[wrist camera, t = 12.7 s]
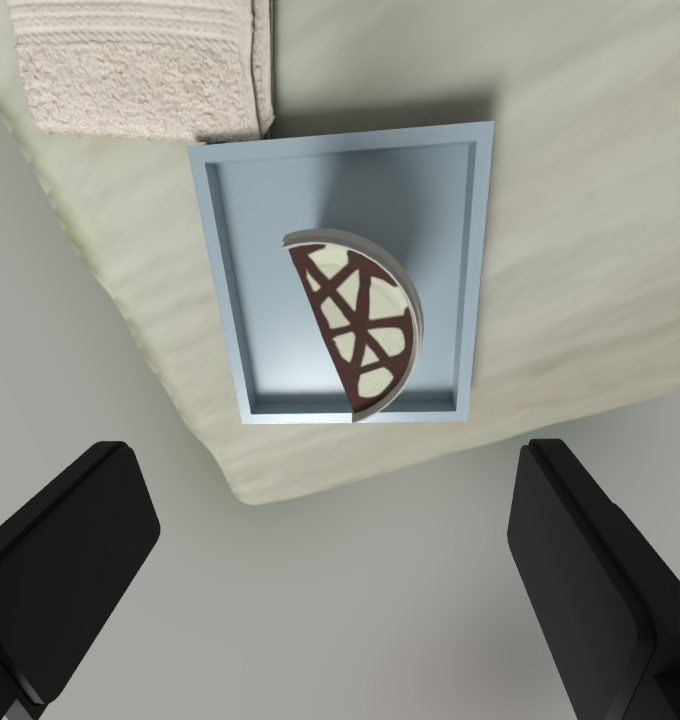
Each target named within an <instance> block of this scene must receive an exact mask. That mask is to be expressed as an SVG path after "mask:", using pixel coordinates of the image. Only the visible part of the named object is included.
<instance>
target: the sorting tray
mask: <svg viewBox="0 0 680 720" xmlns="http://www.w3.org/2000/svg"><path fill="white" fill-rule="evenodd" d="M494 124H495V121H483V122H472V123H460V124H448V125H436V126H424V127H413V128H401V129H389V130H377V131H365V132H354V133H342V134H330V135H318V136H306V137H294V138H283V139H271V140H259V141H247V142H235V143H224V144H212V145H200V146H188V147H187V149H188V154H189V159H190V164H191V169H192V174H193V179H194V184H195V189H196V194H197V199H198V204H199V209H200V214H201V219H202V224H203V229H204V234H205V239H206V245H207V250H208V255H209V260H210V265H211V270H212V275H213V280H214V285H215V290H216V295H217V300H218V305H219V310H220V315H221V320H222V325H223V330H224V335H225V340H226V346H227V351H228V356H229V361H230V366H231V371H232V376H233V381H234V386H235V391H236V396H237V401H238V406H239V411H240V416H241V421H242V424H287V423H352V408H351V405H350V403H349V400H348V398H347V395H346V393H345V390H344V388H343V385H342V383H341V380H340V378H339V375H338V373H337V371H336V368H335V366H334V363H333V361H332V359H331V356H330V354H329V352H328V350H327V347H326V345H325V343H324V341H323V338H322V335H321V332H320V330H319V327H318V324H317V321H316V319H315V316H314V313H313V310H312V308H311V305H310V303H309V300H308V297H307V295H306V292H305V290H304V287H303V284H302V282H301V279H300V277H299V274H298V272H297V270H296V268H295V266H294V264H293V262H292V258H291V256H290V253H289V250H288V249H284V250H281V247H283V244H282V240H283V238H284V236H285V235H286V234H289V233H292V232H296V231H299V230H307V229H315V228H323V229H337V230H341V231H346V232H351V233H354V234H356V235H359V236H361V237H364V238H366V239H368V240H370V241H372V242H373V243H375V244H377V245H378V246H380V247H382V248H383V249H384V250H386V251H387V252H388V253H389V254H390V255H391V256H393V257H394V258H395V259H396V260H397V261H398V262H399V264H400V265H401V266H402V267H403V268H404V270H405V271H406V272H407V274H408V275H409V277H410V279H411V280H412V282H413V284H414V285H415V288H416V290H417V293H418V296H419V298H420V301H421V306H422V311H423V316H424V335H423V342H422V348H421V353H420V357H419V360H418V363H417V366H416V369H415V371H414V373H413V375H412V377H411V379H410V380H409V382H408V384H407V385H406V386H405V388H404V389H403V390H402V392H401V393H400V394H399V395H398V396H397V397H396V398H395V399H394V400H393V401H392V402H391V403H390V404H389V405H388V406H386V407H385V408H384V409H382V410H381V411H380V412H378V413H377V414H375V415H373V416H371V417H369V418H367V419H365V420H363V421H360V422H357V423H367V422H448V421H468V410H469V399H470V388H471V377H472V366H473V355H474V344H475V333H476V322H477V311H478V300H479V289H480V278H481V267H482V256H483V245H484V234H485V223H486V212H487V201H488V190H489V179H490V168H491V157H492V146H493V135H494Z"/></svg>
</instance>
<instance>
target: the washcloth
mask: <svg viewBox="0 0 680 720" xmlns="http://www.w3.org/2000/svg"><path fill="white" fill-rule="evenodd" d="M6 4H7V6H8V13H9V16H10V19H11V21H12V26H13V29H14V32H15V34H16V35H17V46H15V47H14V49H15V52H16V54H17V59H18V61H19V70H20V78H21V80H22V82H23V85H24V93H25V94H26V100H27V103H28V105H29V111H30V114H31V120H32V122H33V123H34V125H35V126H36V127H37V128H38V129H39V130H40V131H42V132H45V133H47V134H48V135H49V136H51V135H53V134H61V135H66V134H68V135H71V136H73V135H76V136H78V137H79V138H80V137H81V136H82V135H88V136H91V137H94V136H109V137H113V138H115V137H120V138H121V139H122V138H130V139H138V138H139V139H143V140H150V141H152V140H156V141H159V140H166V141H168V140H170V141H173V140H177V141H178V140H180V141H181V140H187V141H194V142H197V143H199V142H207V143H210V144H212V143H223V144H224V143H235V142H247V141H259V140H270V139H269V136H270V133H269V127H270V126H271V125H272V123H273V121H274V119H275V117H276V116H274V115H273V113H274V111H273V110H274V64H273V0H6Z"/></svg>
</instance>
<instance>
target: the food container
mask: <svg viewBox="0 0 680 720" xmlns="http://www.w3.org/2000/svg"><path fill="white" fill-rule="evenodd" d="M282 244H283V247H281V250H284V249H288V250H289V253H290V256H291V258H292V262H293V264H294V266H295V268H296V270H297V272H298V274H299V277H300V279H301V282H302V284H303V287H304V290H305V292H306V295H307V297H308V300H309V303H310V305H311V308H312V310H313V313H314V316H315V319H316V321H317V324H318V327H319V330H320V332H321V335H322V338H323V341H324V343H325V345H326V347H327V350H328V352H329V354H330V356H331V359H332V361H333V363H334V366H335V368H336V371H337V373H338V375H339V378H340V380H341V383H342V385H343V388H344V390H345V393H346V395H347V398H348V400H349V403H350V405H351V408H352V424H354V423H357V422H360V421H363V420H365V419H367V418H369V417H371V416H373V415H375V414H377V413H378V412H380V411H381V410H382V409H384V408H385V407H386V406H388V405H389V404H390V403H391V402H392V401H393V400H394V399H395V398H396V397H397V396H398V395H399V394H400V393H401V392H402V390H403V389H404V388H405V386H406V385H407V384H408V382H409V380H410V379H411V377H412V375H413V373H414V371H415V369H416V366H417V363H418V360H419V357H420V353H421V348H422V342H423V335H424V316H423V311H422V306H421V301H420V298H419V296H418V293H417V290H416V288H415V285H414V284H413V282H412V280H411V279H410V277H409V275H408V274H407V272H406V271H405V270H404V268H403V267H402V266H401V265H400V264H399V262H398V261H397V260H396V259H395V258H394V257H393V256H391V255H390V254H389V253H388V252H387V251H386V250H384V249H383V248H382V247H380V246H378V245H377V244H375V243H373V242H372V241H370V240H368V239H366V238H364V237H361V236H359V235H356V234H354V233H351V232H346V231H341V230H337V229H323V228H315V229H307V230H299V231H296V232H292V233H289V234H286V235H285V236H284V238H283V240H282Z"/></svg>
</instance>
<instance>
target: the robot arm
mask: <svg viewBox="0 0 680 720" xmlns="http://www.w3.org/2000/svg"><path fill="white" fill-rule="evenodd" d="M159 535H160V524H159V520H158V518H157V515H156V512H155V509H154V507H153V504H152V501H151V498H150V495H149V492H148V489H147V487H146V484H145V481H144V478H143V475H142V473H141V470H140V467H139V464H138V461H137V459H136V456H135V453H134V451H133V449H132V448H130V447H128V445H127V444H126V443H125V442H122V441H100V442H97V443H95V444H94V445H92V446H91V447H90V448H89V449H88V450H87V451H86V452H85V453H83V454H82V455H81V456H80V457H79V458H78V459H76V460H75V461H74V462H73V463H72V464H71V465H69V466H68V467H67V468H66V469H65V470H64V471H63V472H62V473H60V474H59V475H58V476H57V477H56V478H55V479H53V480H52V481H51V482H50V483H49V484H48V485H47V486H45V487H44V488H43V489H42V490H41V491H40V492H39V493H37V494H36V495H35V496H34V497H33V498H32V499H30V500H29V501H28V502H27V503H26V504H25V505H24V506H22V508H20V509H19V510H18V511H17V512H16V513H14V514H13V515H12V516H11V517H10V518H9V519H8V520H6V521H5V522H4V523H3V524H2V525H1V526H0V720H2V718H3V716H4V715H5V716H6V718H8V720H38V719H39V718H40V716H41V715H42V713H43V712H44V710H45V709H46V707H47V706H48V704H49V703H51V702H52V701H54V700H55V699H56V698H57V697H58V696H59V695H60V693H61V692H62V691H63V689H64V688H65V686H66V684H67V683H68V681H69V680H70V678H71V677H72V675H73V673H74V672H75V670H76V668H77V667H78V665H79V664H80V662H81V661H82V659H83V658H84V656H85V654H86V653H87V651H88V650H89V648H90V647H91V645H92V643H93V642H94V640H95V638H96V637H97V635H98V634H99V632H100V631H101V629H102V627H103V626H104V624H105V622H106V621H107V620H108V618H109V616H110V615H111V613H112V612H113V610H114V609H115V607H116V605H117V604H118V602H119V601H120V599H121V598H122V596H123V594H124V593H125V591H126V590H127V588H128V586H129V585H130V583H131V582H132V580H133V578H134V577H135V575H136V574H137V572H138V571H139V569H140V568H141V565H142V564H143V563H144V561H145V560H146V558H147V556H148V555H149V553H150V552H151V550H152V549H153V547H154V545H155V544H156V542H157V540H158V538H159ZM507 538H508V544H509V547H510V551H511V553H512V556H513V558H514V561H515V563H516V566H517V568H518V571H519V573H520V576H521V578H522V581H523V583H524V586H525V588H526V591H527V593H528V596H529V598H530V601H531V603H532V606H533V608H534V611H535V614H536V616H537V619H538V621H539V623H540V626H541V629H542V631H543V634H544V636H545V639H546V641H547V644H548V646H549V649H550V651H551V654H552V656H553V659H554V661H555V664H556V666H557V669H558V671H559V674H560V676H561V679H562V682H563V684H564V686H565V689H566V691H567V694H568V696H569V699H570V702H571V704H572V706H573V709H574V712H575V714H576V717H577V719H578V720H680V581H679V580H678V578H677V577H676V576H675V575H674V573H673V572H672V571H671V570H670V568H669V567H668V566H667V565H666V563H665V562H664V561H663V560H662V559H661V558H660V556H659V555H658V554H657V552H655V550H654V549H653V547H652V546H651V545H650V544H649V543H648V541H647V540H646V539H645V538H644V536H643V535H642V534H641V533H640V531H639V530H638V529H637V528H636V527H635V525H634V524H633V523H632V522H631V521H630V519H629V518H628V517H627V515H626V514H625V513H624V512H623V511H622V510H621V509H620V508H619V507H618V506H617V505H616V504H614V503H612V502H611V500H610V499H609V498H608V497H607V495H606V494H605V493H604V492H603V490H602V489H601V488H600V487H599V485H598V484H597V483H596V482H595V480H594V479H593V478H592V476H591V475H590V474H589V473H588V472H587V470H586V469H585V468H584V467H583V465H582V464H581V463H580V462H579V460H578V459H577V458H576V456H575V455H574V454H573V453H572V452H571V450H570V449H569V448H568V447H567V445H566V444H565V443H564V442H563V441H562V440H561V439H531V440H530V442H529V445H524V446H522V448H521V450H520V457H519V463H518V469H517V475H516V481H515V487H514V493H513V500H512V506H511V512H510V518H509V524H508V531H507Z"/></svg>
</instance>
